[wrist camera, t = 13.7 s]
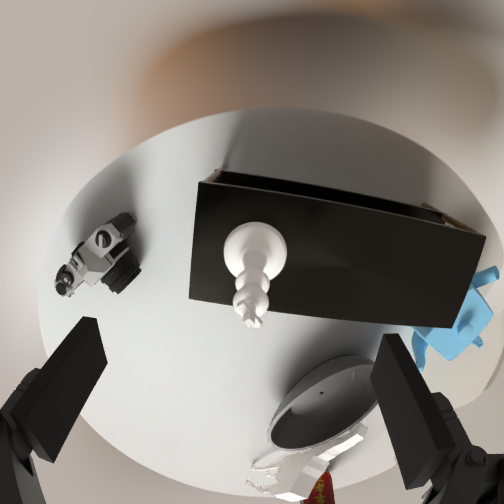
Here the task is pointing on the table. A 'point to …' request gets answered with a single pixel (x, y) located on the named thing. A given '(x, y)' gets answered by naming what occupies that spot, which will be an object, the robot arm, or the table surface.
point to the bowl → (324, 404)
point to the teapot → (458, 324)
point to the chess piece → (254, 267)
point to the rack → (337, 251)
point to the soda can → (321, 491)
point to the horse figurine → (307, 467)
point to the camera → (101, 258)
